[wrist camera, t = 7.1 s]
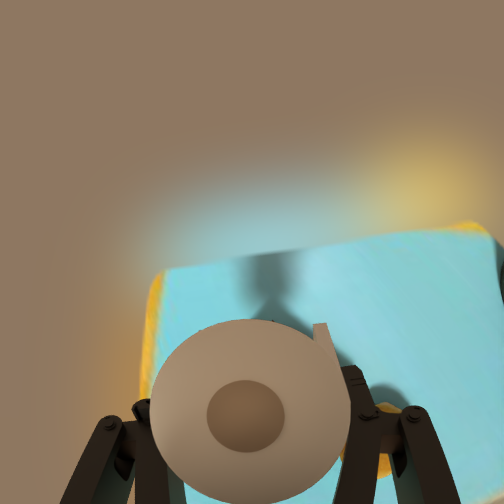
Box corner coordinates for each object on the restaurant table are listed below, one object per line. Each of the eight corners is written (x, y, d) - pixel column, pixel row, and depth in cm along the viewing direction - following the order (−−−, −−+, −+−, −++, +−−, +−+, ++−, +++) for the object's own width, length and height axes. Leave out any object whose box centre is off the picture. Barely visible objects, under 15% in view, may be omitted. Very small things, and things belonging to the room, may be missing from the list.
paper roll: (330, 399, 17) (392, 400, 7) (270, 461, 16) (248, 538, 5) (266, 346, 20) (242, 279, 9) (208, 405, 18) (113, 405, 7)
